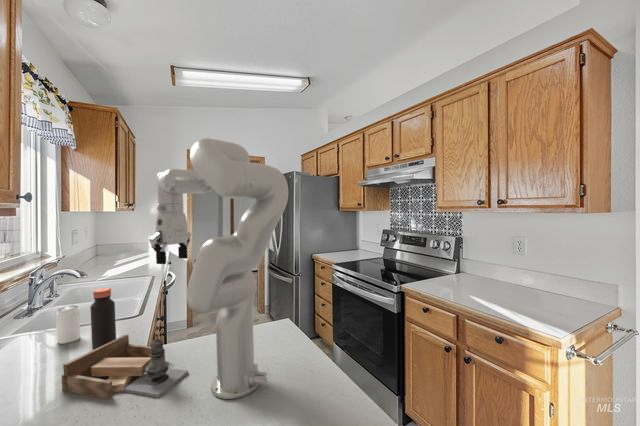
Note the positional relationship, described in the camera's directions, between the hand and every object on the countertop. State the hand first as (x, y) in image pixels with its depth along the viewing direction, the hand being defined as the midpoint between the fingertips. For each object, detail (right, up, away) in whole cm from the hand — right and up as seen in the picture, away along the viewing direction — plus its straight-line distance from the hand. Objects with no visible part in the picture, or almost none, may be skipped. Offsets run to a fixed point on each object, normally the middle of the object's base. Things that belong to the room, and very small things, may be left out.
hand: (172, 260), depth 97 cm
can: (-43, -31, +10) cm, 54 cm away
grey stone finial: (+4, -30, -17) cm, 35 cm away
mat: (+4, -31, -17) cm, 35 cm away
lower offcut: (-7, -32, -14) cm, 35 cm away
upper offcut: (-7, -29, -14) cm, 33 cm away
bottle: (-26, -31, +5) cm, 41 cm away
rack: (-10, -31, -13) cm, 35 cm away
